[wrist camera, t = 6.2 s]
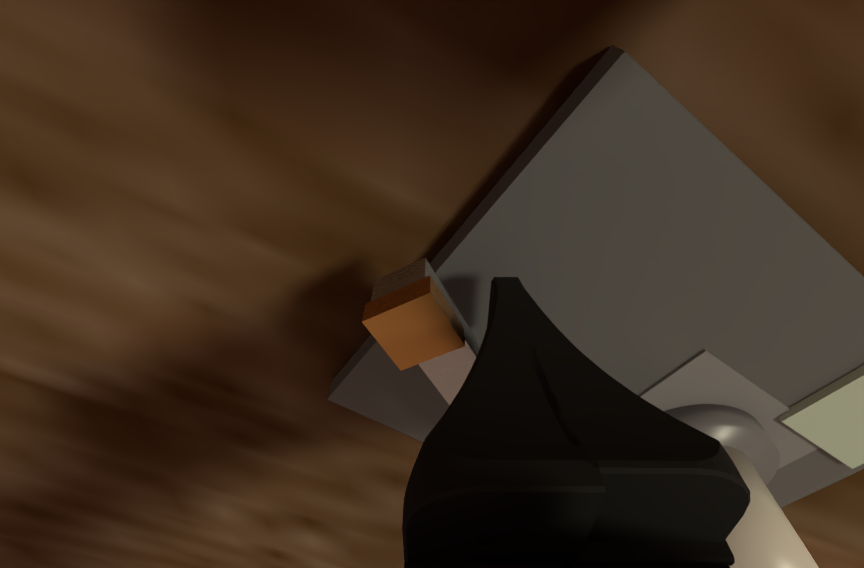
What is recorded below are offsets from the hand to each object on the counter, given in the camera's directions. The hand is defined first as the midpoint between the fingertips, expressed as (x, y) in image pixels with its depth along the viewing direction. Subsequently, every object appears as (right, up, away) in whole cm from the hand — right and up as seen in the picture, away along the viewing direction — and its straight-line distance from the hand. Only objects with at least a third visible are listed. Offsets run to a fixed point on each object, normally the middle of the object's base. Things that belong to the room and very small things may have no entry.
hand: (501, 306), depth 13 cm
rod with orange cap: (0, -4, +2) cm, 5 cm away
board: (+6, -3, +5) cm, 9 cm away
